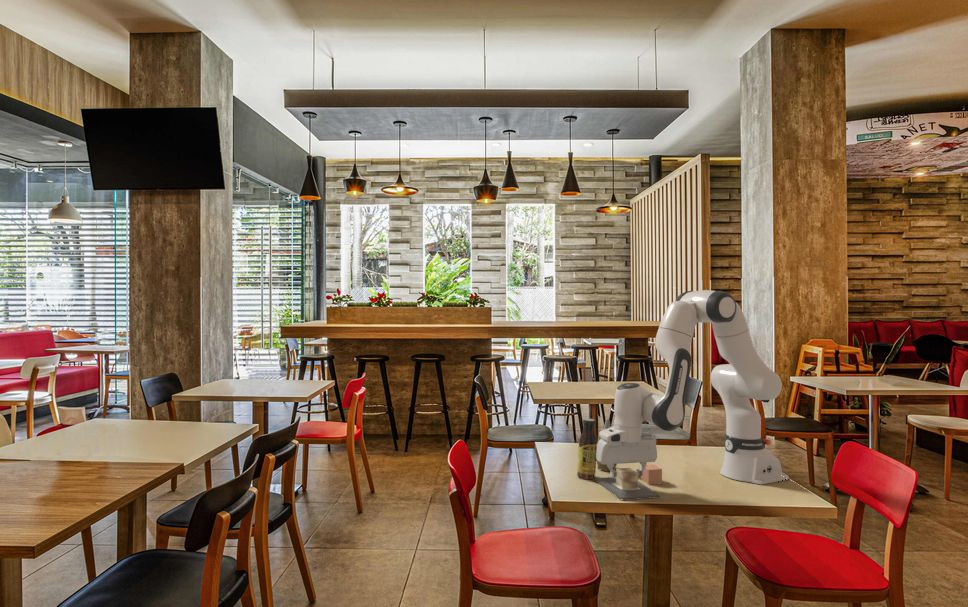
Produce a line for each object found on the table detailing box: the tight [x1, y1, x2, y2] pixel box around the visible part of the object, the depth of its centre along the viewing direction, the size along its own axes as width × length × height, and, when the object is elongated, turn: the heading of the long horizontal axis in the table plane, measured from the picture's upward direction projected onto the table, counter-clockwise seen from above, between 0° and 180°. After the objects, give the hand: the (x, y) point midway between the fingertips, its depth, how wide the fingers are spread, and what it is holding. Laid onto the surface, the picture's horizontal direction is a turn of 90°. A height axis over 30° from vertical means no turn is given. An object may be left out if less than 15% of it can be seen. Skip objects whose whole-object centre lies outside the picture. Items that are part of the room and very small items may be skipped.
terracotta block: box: [640, 464, 663, 485], centre depth 178 cm, size 5×5×5 cm
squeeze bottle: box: [596, 418, 618, 472], centre depth 190 cm, size 8×8×18 cm
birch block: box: [615, 467, 639, 489], centre depth 170 cm, size 5×5×5 cm
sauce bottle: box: [576, 418, 598, 480], centre depth 181 cm, size 6×6×20 cm
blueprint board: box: [595, 476, 660, 500], centre depth 170 cm, size 13×18×1 cm
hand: (626, 476), depth 170 cm, fingers open, 8 cm apart
